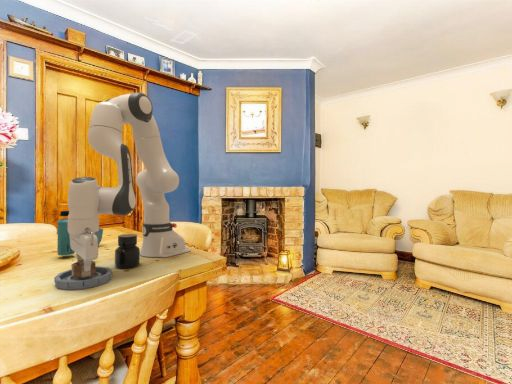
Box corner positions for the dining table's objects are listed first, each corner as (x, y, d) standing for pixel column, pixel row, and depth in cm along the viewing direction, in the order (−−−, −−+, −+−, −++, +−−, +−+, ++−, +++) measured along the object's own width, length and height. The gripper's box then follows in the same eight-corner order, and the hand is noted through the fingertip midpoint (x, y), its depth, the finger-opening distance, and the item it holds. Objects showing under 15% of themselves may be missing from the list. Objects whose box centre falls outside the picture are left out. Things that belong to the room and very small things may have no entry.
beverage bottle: (66, 259, 122) (66, 211, 121) (53, 258, 123) (52, 211, 122) (79, 255, 128) (78, 210, 127) (66, 254, 129) (65, 209, 129)
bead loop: (91, 269, 101) (91, 259, 101) (97, 274, 97) (97, 263, 97) (70, 273, 97) (70, 263, 97) (74, 278, 92) (74, 267, 92)
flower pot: (103, 246, 147) (103, 228, 146) (85, 249, 139) (85, 230, 139) (94, 244, 151) (94, 226, 151) (76, 247, 144) (76, 229, 144)
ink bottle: (136, 261, 121) (136, 232, 121) (144, 266, 115) (144, 235, 114) (110, 265, 115) (110, 235, 115) (117, 270, 108) (117, 238, 108)
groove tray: (103, 270, 108) (103, 263, 108) (118, 282, 97) (118, 273, 97) (50, 280, 97) (50, 271, 97) (61, 294, 86) (60, 284, 86)
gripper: (103, 229, 91) (103, 273, 91) (86, 222, 106) (86, 260, 106) (80, 231, 87) (80, 278, 87) (65, 223, 101) (65, 263, 102)
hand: (83, 268), depth 97 cm, fingers closed on bead loop, 6 cm apart
